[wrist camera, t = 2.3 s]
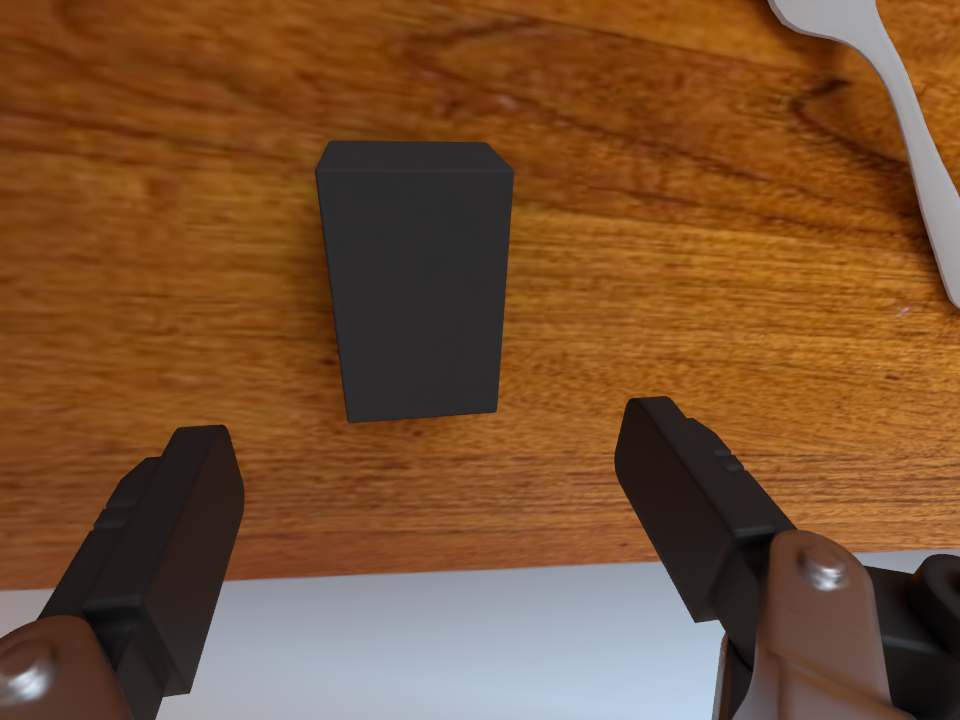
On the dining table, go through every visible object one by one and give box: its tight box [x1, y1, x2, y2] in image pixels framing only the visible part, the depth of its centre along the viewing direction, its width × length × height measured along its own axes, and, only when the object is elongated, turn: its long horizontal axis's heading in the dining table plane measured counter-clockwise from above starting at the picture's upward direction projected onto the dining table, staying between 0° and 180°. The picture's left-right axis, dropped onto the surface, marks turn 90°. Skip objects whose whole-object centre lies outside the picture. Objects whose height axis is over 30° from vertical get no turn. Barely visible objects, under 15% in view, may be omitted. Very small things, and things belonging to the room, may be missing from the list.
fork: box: [767, 0, 960, 309], centre depth 17 cm, size 3×24×2 cm, turn 47°
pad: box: [315, 141, 514, 423], centre depth 16 cm, size 8×5×4 cm, turn 178°
